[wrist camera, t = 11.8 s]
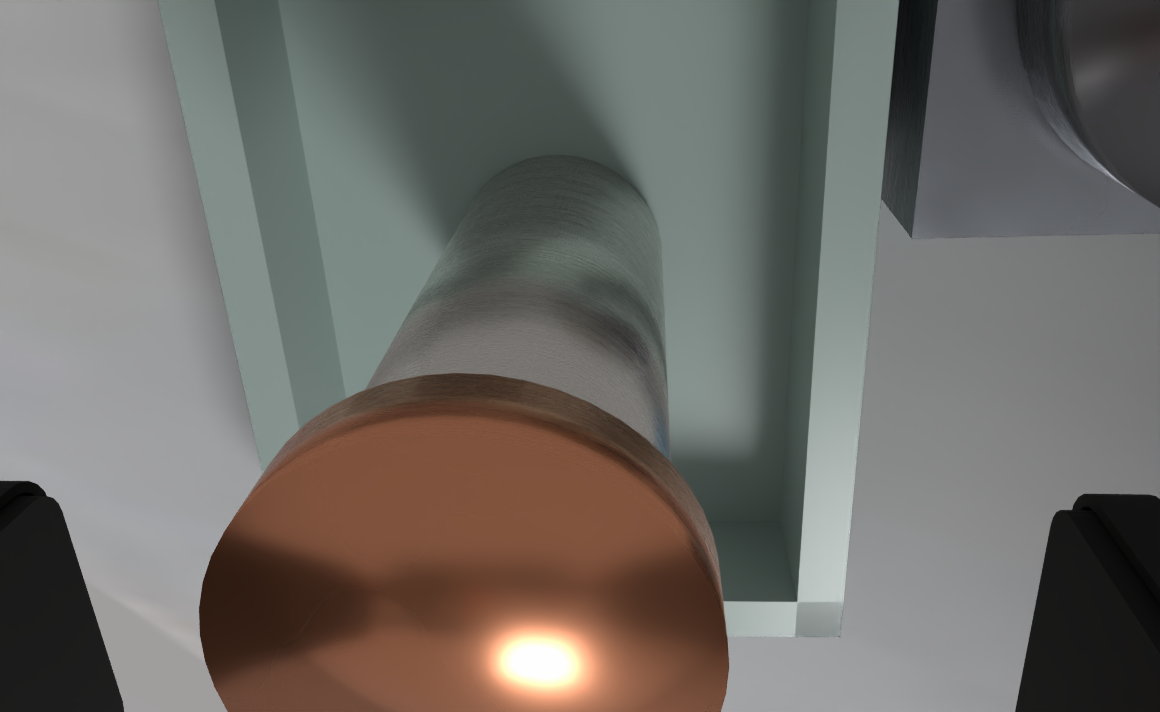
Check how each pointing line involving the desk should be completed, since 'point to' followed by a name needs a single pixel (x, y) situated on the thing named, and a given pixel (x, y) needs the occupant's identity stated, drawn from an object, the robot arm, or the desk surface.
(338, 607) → the pin
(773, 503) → the tray
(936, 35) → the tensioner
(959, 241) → the desk surface
